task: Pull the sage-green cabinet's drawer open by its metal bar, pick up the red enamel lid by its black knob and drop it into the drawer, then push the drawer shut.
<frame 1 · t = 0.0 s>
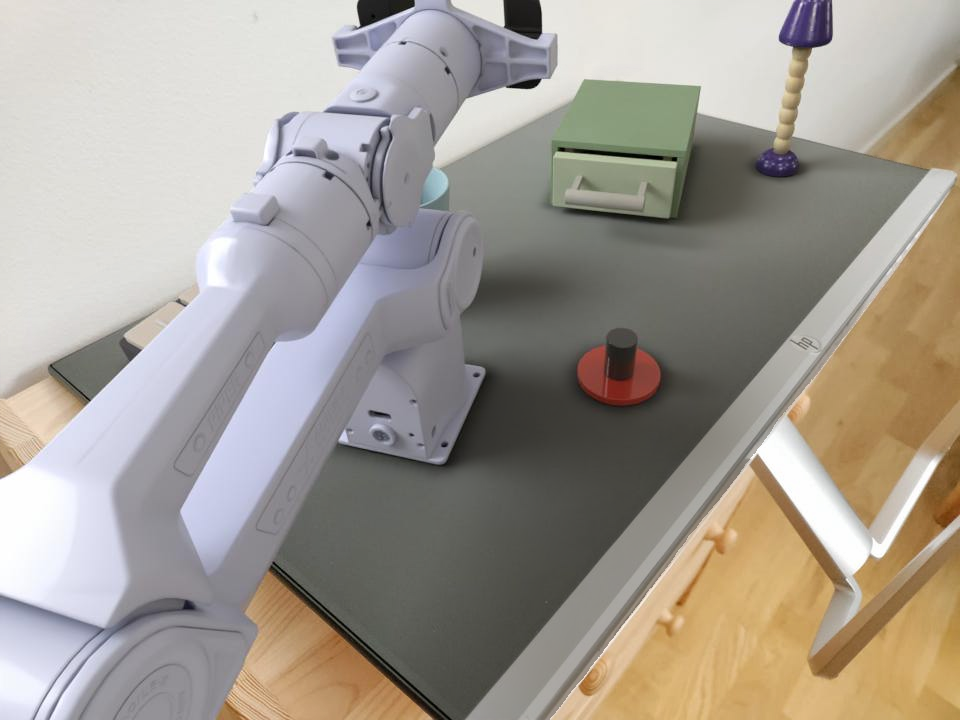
hand: (481, 0, 50), 22 cm above the table, tool horizontal, fingers open, 7 cm apart
cup: (415, 296, 61), on the table
lid: (618, 376, 52), on the table
cabinet: (624, 174, 75), on the table
drawer: (620, 163, 70), point 3 cm above the table, slide at 0.5 cm
toy lamp: (774, 168, 75), on the table
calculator: (250, 341, 58), on the table
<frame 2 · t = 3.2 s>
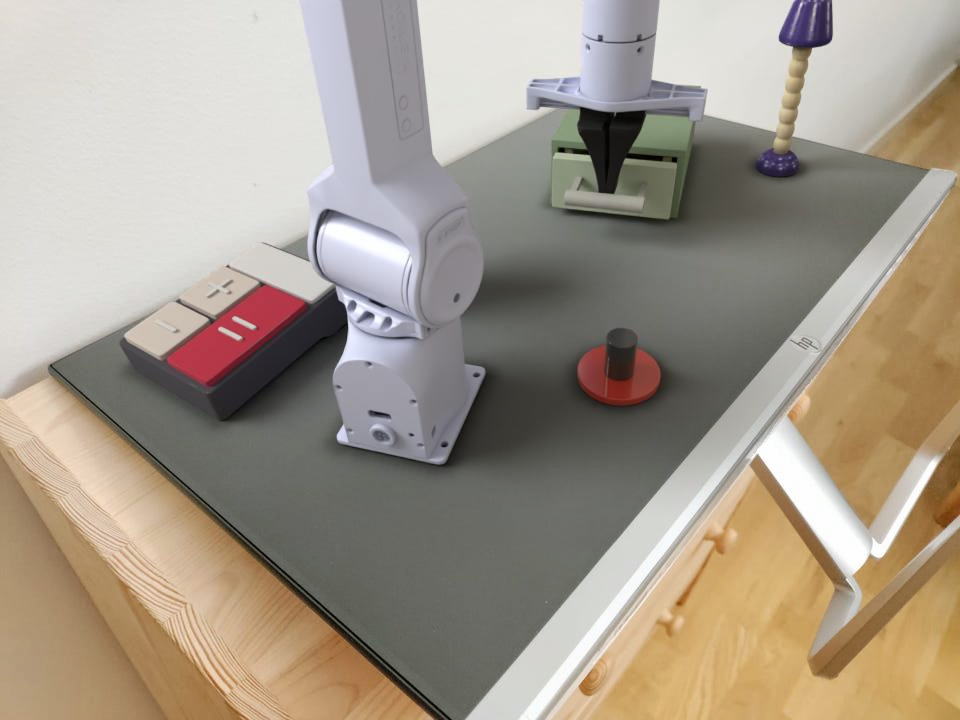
hand: (607, 189, 64), 4 cm above the table, tool pointing down, fingers closed, pressing on drawer
drawer: (619, 164, 69), point 3 cm above the table, slide at 0.7 cm, touching gripper
everything else where it was.
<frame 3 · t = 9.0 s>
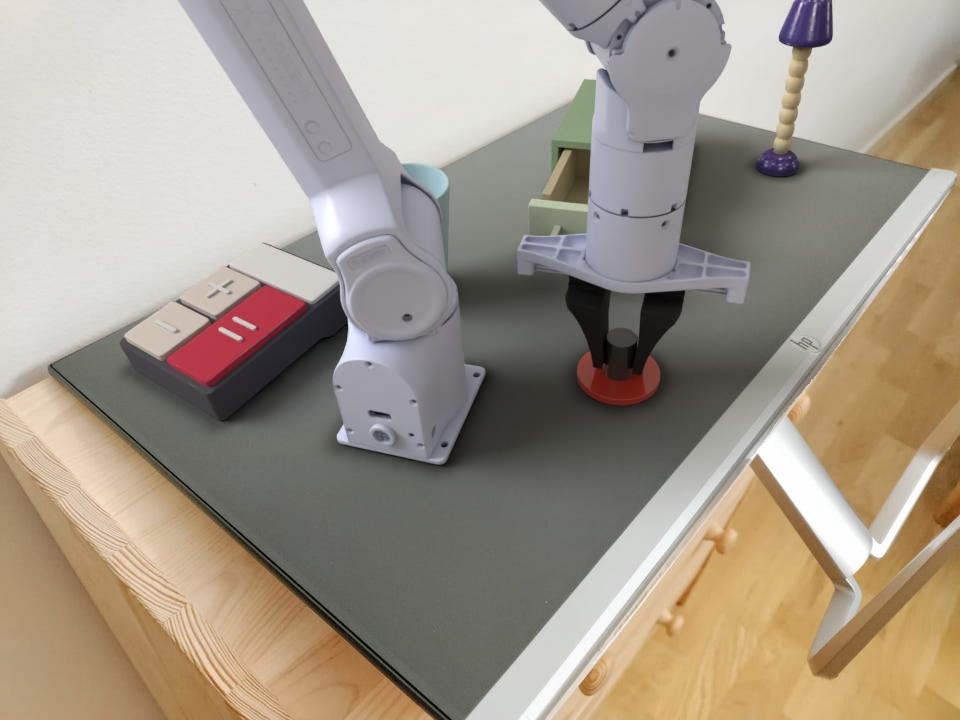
hand: (619, 362, 51), 1 cm above the table, tool pointing down, fingers closed on lid, 2 cm apart
lid: (617, 376, 52), on the table, touching gripper
drawer: (603, 209, 63), point 3 cm above the table, slide at 9.6 cm
everything else where it was.
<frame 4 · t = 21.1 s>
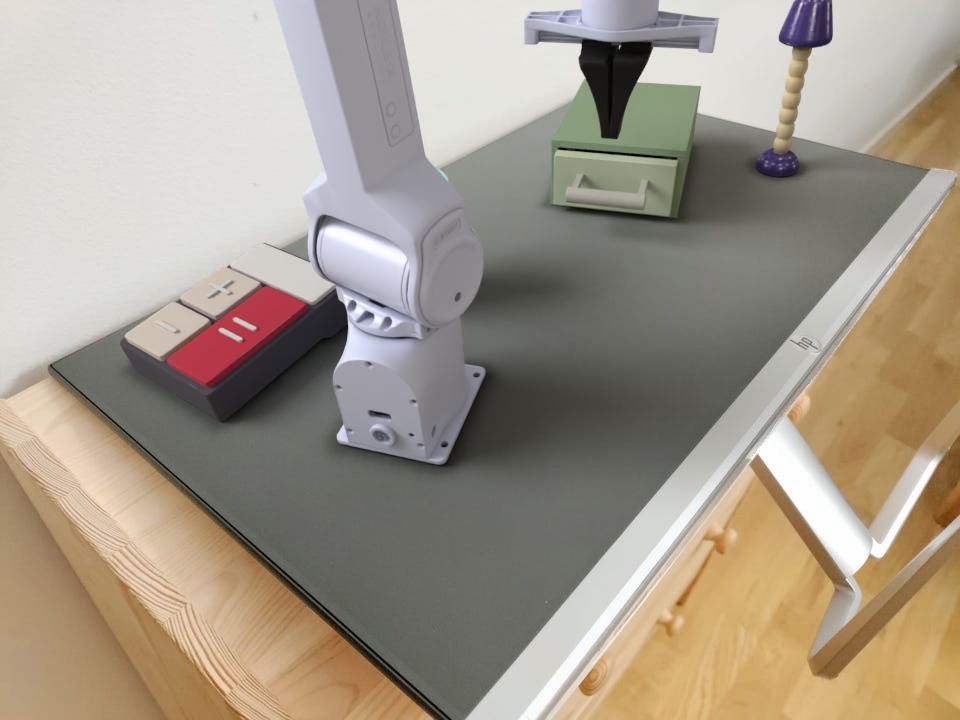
hand: (611, 133, 60), 10 cm above the table, tool pointing down, fingers closed
lid: (620, 171, 72), point 2 cm above the table, touching drawer
drawer: (620, 161, 70), point 3 cm above the table, slide at 0.1 cm, touching lid
everything else where it was.
at the end: drawer pulled out 9.6 cm at the most during the clip, back to where it started at the end; lid inside the target area in the cabinet (3.1 cm from its centre), point 1.9 cm above the cabinet's base; drawer slide at 0.1 cm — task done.
